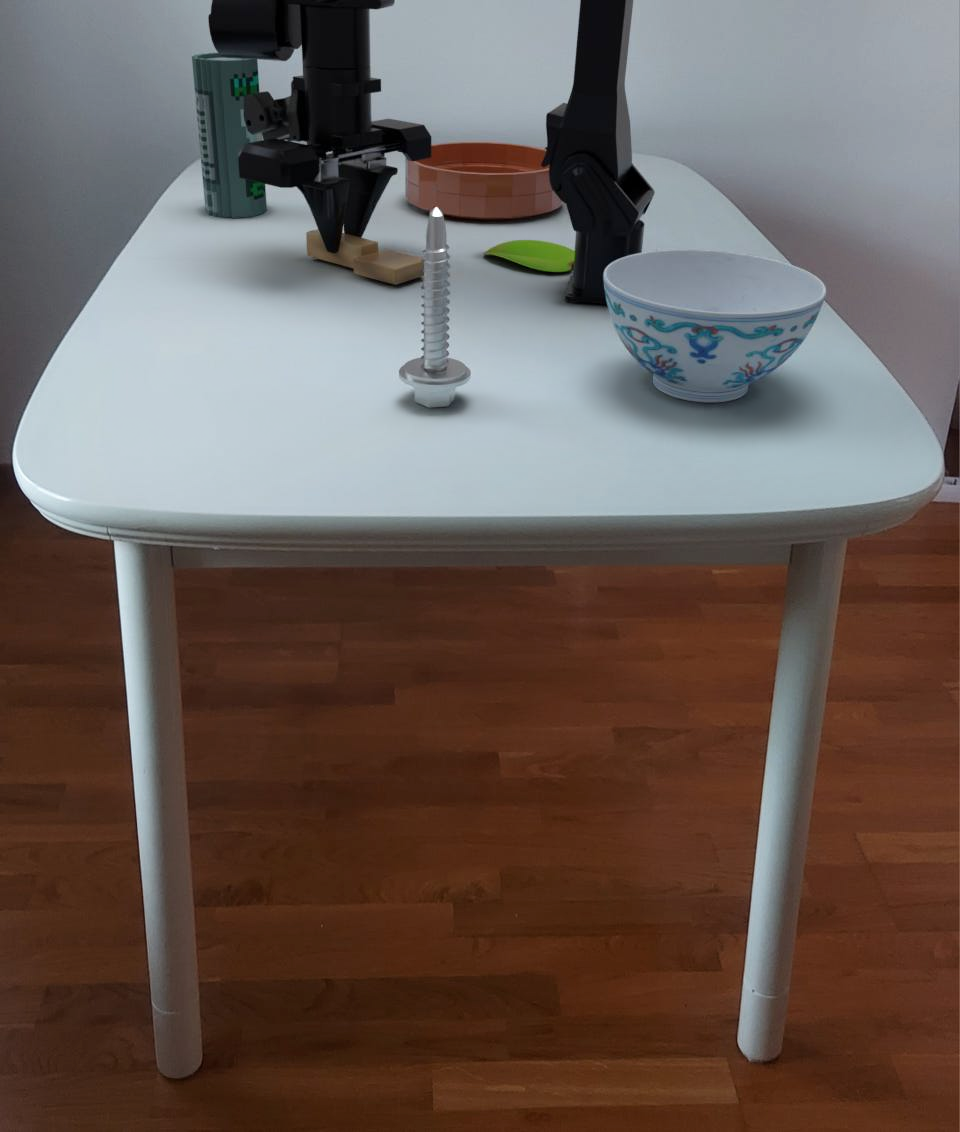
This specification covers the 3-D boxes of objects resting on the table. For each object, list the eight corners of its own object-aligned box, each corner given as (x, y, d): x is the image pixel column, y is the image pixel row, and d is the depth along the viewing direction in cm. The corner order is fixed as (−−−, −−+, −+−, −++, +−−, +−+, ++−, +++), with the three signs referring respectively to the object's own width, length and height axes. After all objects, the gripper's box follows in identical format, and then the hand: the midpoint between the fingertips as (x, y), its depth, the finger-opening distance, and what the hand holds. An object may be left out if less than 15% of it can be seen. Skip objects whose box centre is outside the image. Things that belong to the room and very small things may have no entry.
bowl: (554, 228, 121) (557, 178, 119) (391, 217, 123) (390, 168, 121) (568, 191, 136) (571, 146, 133) (422, 182, 138) (422, 138, 135)
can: (271, 215, 122) (261, 60, 115) (212, 219, 120) (199, 61, 113) (258, 202, 127) (248, 52, 120) (202, 205, 125) (188, 53, 118)
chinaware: (642, 435, 76) (654, 320, 72) (566, 356, 88) (573, 254, 84) (848, 417, 80) (870, 306, 76) (747, 343, 92) (761, 244, 88)
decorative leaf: (524, 283, 105) (525, 273, 105) (477, 253, 112) (477, 243, 111) (596, 268, 108) (596, 258, 108) (546, 240, 115) (546, 230, 114)
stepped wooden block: (428, 274, 104) (428, 250, 103) (395, 285, 101) (395, 260, 100) (332, 249, 111) (331, 225, 110) (298, 258, 108) (297, 234, 107)
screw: (432, 420, 77) (384, 399, 80) (484, 402, 80) (436, 382, 83) (434, 220, 71) (382, 205, 74) (491, 208, 74) (438, 194, 76)
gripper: (345, 47, 110) (349, 216, 118) (186, 64, 97) (203, 252, 105) (436, 59, 104) (434, 237, 112) (280, 79, 91) (290, 278, 99)
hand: (342, 249), depth 107 cm, fingers closed on stepped wooden block, 2 cm apart
